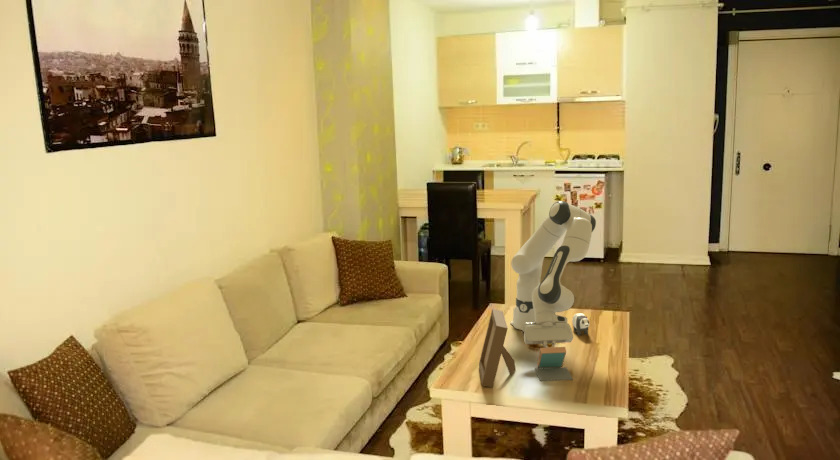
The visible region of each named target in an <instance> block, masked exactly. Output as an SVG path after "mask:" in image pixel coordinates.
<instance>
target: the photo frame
mask: <svg viewBox="0 0 840 460" xmlns="http://www.w3.org/2000/svg"><path fill="white" fill-rule="evenodd" d="M489 317H490V318H489V320H488V321H489V322H488V326H487V329H486V333H485V338H484V342H483V346H482V349H481V354H480V358H479V361H478V362H479V364H478V367H479V374H480V375H479V376H480V381H481V386H484V387H488V388H494V385H495V380H496V376H497V372H498V368H499V364H500V361H501V356H502V358H503V361H504V363H505V365H506V368H507V370H508V373H509V375H512V374H513V373H514V372H516V362H515V359H514V358H513V356H512V355H511V354H510V352H509V351H508V350H507V348H506V347H505V345H504V344H505V341H506V336H507V333H508V325H507V321H506V318H505V314H504V311H503V310H500V309H499V310H498V309H495V308H492V309H491V313H490V316H489Z"/></svg>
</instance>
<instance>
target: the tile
mask: <svg viewBox="0 0 840 460" xmlns="http://www.w3.org/2000/svg"><path fill="white" fill-rule="evenodd" d="M566 353H567V349H566V346H555V347H553V346H550V347H549V346H548V347H547V348H545V347H540V349H539V352H538V357H537V362H536V364H537V368H557V367H564V366H563V365H564V362H565V358H566Z"/></svg>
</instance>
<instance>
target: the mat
mask: <svg viewBox="0 0 840 460" xmlns="http://www.w3.org/2000/svg"><path fill="white" fill-rule="evenodd" d="M534 371H535V373H536V375H537V377H538V379H539V381H540V382H546V381H547V382H548V381H549V382H550V381H551V382H553V381H570V380H571V381H572V380H574V378H573V376H572V374H571V373H570V371H569V369H568V368H567V367H566V366H562V367H553V368H538V367H536V368H534Z"/></svg>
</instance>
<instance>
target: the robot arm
mask: <svg viewBox="0 0 840 460" xmlns="http://www.w3.org/2000/svg"><path fill="white" fill-rule="evenodd" d="M596 226H597V220H596V218H595V217H594V216H593V215H592V214H591V213H589V212H587V211H585V210H584V209H582V208H581V207H578V206H575V205H573V204H570V203H568V202H567V201H562V200H557V201H556V202H554V203H553V204H552V205H551V206H550V209H549V213H548V215H547V216H546V217H545V218H544V220H543V221H542V222H541V223H540V225H538V227H537V229H536V230H535V231H534V232H533V234H532V235H531V236H530V237H529V238H528V239H527V241H525V243H524V244H523V245H522V246H521V247H520V248H519V249H518V250H517V252H516V253H515V254H514V256H513V257H512V259H511V269H512V270H513V271H514V272H515V273H516V274H518V278H517V281H516V298H515V307H514V308H513V314H512V315H513V316H512V320H511V321H510V325H512V326H513V327H514V329H517V330H521V331H522V332H523V340H524V341H523V342H524V343H525V344H526V345H538V344H540V345H542V346H543V348H547V347H549V346H548V344H551V346H552V347H556V344H559V343H560V344H561V343H562V344H563V343H572V342H573V340H574V334H573V329H572V326H571V325H570V323H568V317H566V316H562V315H559V314H557V313H562V312H565V311H568V310H570V309H572V307H573V306H574V303H575V294H574V292H572V290H570V289H568V288H567V287H566V286H564V285H562V283H561V278H562V276H563V273H564V270H565V268H566V265H567V264H568V263H569V262H574V263H575V262H580V261H581V260H583V259H585V258H586V256H587V255H588V254H587V253H588V251H589V248H590V245H591V244H590V243H591V238H592V234H593V232H594V230H595V228H596ZM563 235H564V238H563V242H562V244H561V245H560V246H559V247H557V249H556V251H555V253H554V255H553V257H552V260H551V262H550V264H549V266H548V269H547V271H546V274H545V276H544V277H543V279H542V280H541V278H542V271H543V264H544V260H545V257H546V255H548V254H549V252H551V250H552V249H554V248H553V247H555V245H556V244H557V243H558V241H559V240H560V239H561V238H562V236H563Z"/></svg>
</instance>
